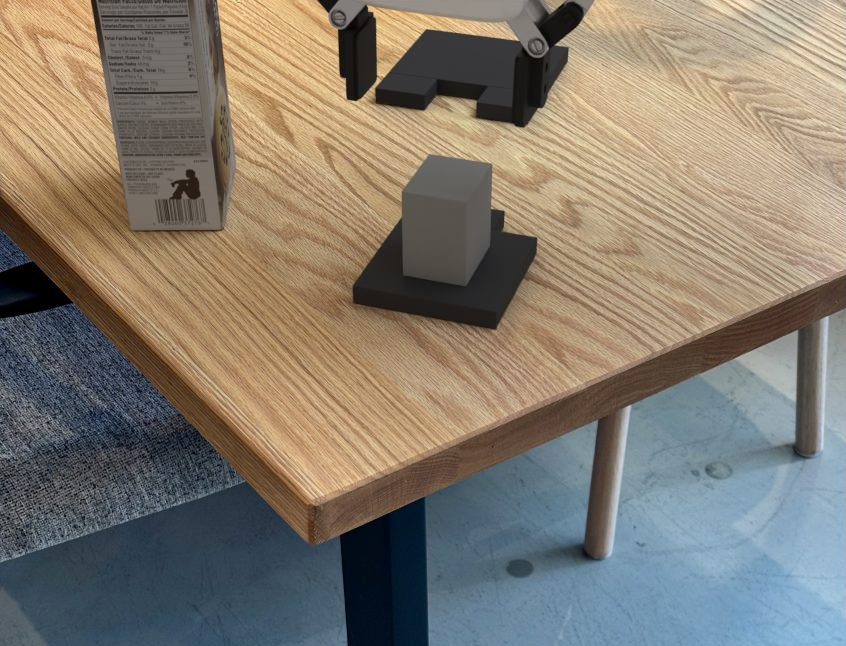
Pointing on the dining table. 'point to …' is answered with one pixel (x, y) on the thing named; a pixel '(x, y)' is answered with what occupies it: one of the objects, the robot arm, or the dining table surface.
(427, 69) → the base pad
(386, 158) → the dining table surface
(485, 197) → the grey post on plate
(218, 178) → the coffee box
